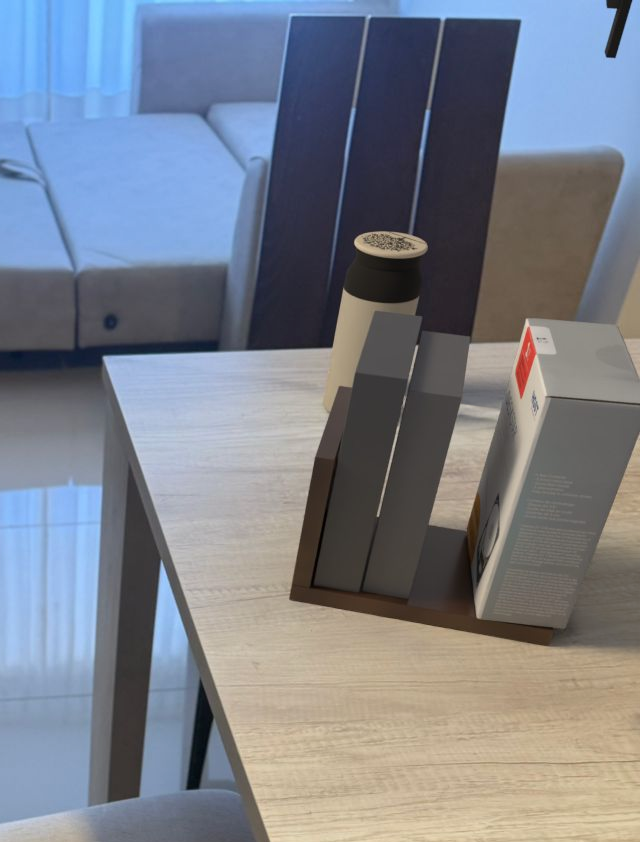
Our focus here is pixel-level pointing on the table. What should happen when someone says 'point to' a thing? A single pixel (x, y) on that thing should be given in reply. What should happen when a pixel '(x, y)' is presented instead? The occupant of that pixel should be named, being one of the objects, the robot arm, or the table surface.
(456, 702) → the table surface
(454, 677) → the table surface
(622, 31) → the robot arm
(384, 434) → the grey books
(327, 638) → the table surface
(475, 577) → the hard drive box
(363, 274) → the travel mug
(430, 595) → the book rack
